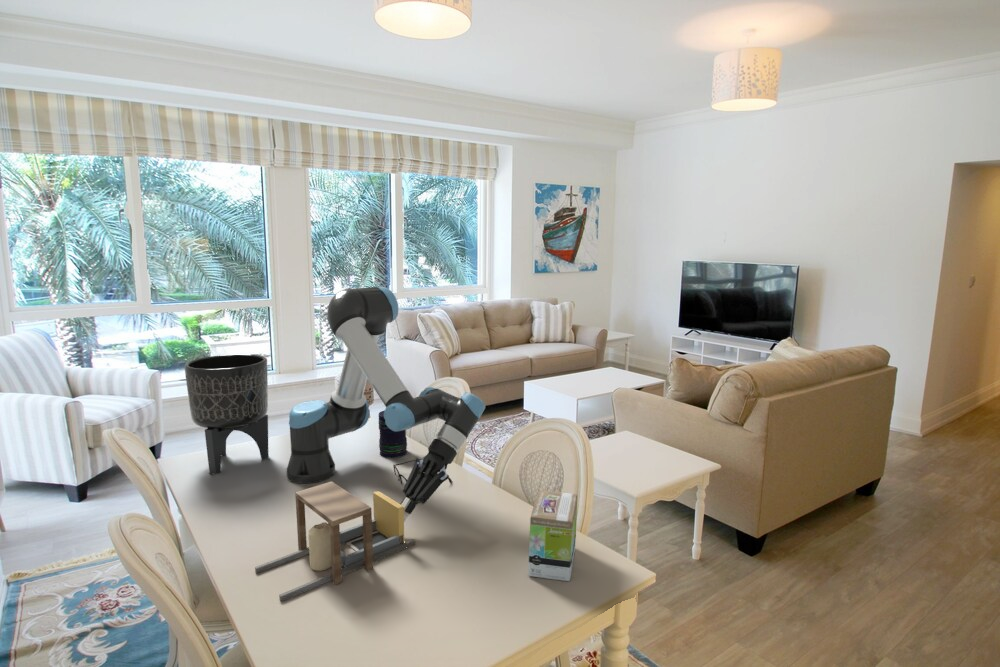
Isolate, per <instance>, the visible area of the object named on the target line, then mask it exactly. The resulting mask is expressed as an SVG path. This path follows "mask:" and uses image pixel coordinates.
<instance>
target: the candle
mask: <svg viewBox="0 0 1000 667" xmlns="http://www.w3.org/2000/svg"><path fill="white" fill-rule="evenodd" d="M307 536H308V547H309V566H310V569H311V570H314V571H319V572H321V571H325V570H328V569H330V568H332V560H331V538H330V525H329V524H328V522H327V521H325V522H321V523H318V524H314V525H313V526H312V527H310V529H309V530H308V533H307Z"/></svg>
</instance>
